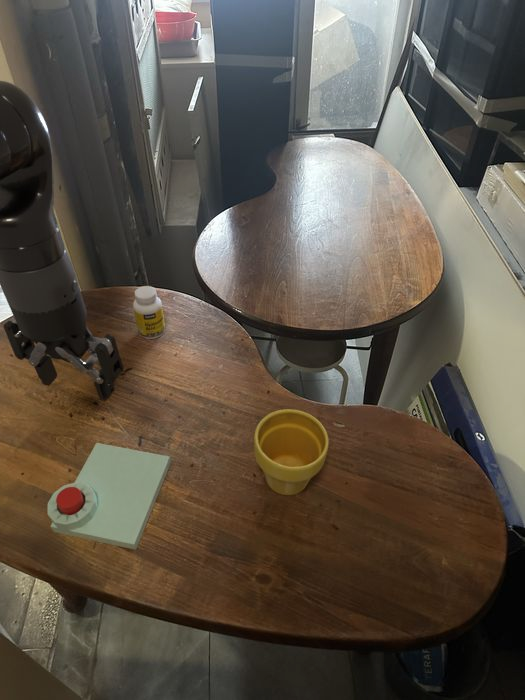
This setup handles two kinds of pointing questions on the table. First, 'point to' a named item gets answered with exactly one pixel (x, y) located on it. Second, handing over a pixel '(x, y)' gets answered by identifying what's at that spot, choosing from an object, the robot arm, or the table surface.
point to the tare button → (70, 500)
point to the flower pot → (290, 449)
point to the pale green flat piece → (113, 496)
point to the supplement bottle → (148, 313)
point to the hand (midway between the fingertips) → (78, 388)
